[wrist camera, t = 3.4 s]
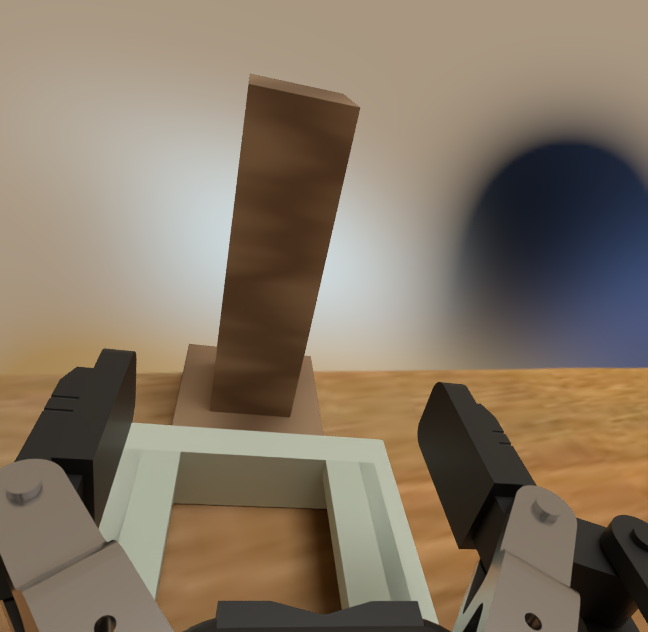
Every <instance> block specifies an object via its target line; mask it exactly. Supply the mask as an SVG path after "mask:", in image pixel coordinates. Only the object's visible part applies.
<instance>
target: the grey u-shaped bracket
mask: <svg viewBox="0 0 648 632" xmlns="http://www.w3.org/2000/svg"><path fill="white" fill-rule="evenodd" d="M173 503H180V504H207V505H233V506H260V507H287V508H314V509H327V512H328V518H329V525H330V532H331V539H332V546H333V553H334V559H335V566H336V573H337V580H338V587H339V593H340V600H341V607H342V610H343V609H346V608H350V607H353V606H356V605H360V604H363V603H367V602H370V601H418V604H419V608H420V611H421V615H422V618H423V619H426V620H429V621H431V622H434V623H436V624H438V625H439V623H438V620H437V617H436V613H435V610H434V607H433V603H432V600H431V597H430V594H429V590H428V587H427V584H426V580H425V577H424V574H423V571H422V567H421V564H420V561H419V557H418V554H417V551H416V548H415V544H414V541H413V538H412V534H411V531H410V528H409V525H408V521H407V518H406V515H405V512H404V508H403V505H402V502H401V498H400V495H399V492H398V489H397V485H396V482H395V479H394V475H393V472H392V469H391V466H390V462H389V459H388V456H387V452H386V449H385V446H384V443H383V440H377V439H362V438H348V437H333V436H319V435H304V434H289V433H275V432H260V431H246V430H231V429H217V428H202V427H187V426H173V425H158V424H144V423H132V424H131V427H130V430H129V433H128V437H127V440H126V443H125V446H124V449H123V453H122V456H121V459H120V462H119V465H118V469H117V472H116V475H115V478H114V481H113V484H112V488H111V491H110V494H109V497H108V500H107V504H106V507H105V510H104V513H103V516H102V520H101V523H100V526H99V531H100V532H101V534H102V536H103V537H104V539H105V540H106V541H107V542H109V541H111V540H116V541H117V542H118V543H119V544H120V545H121V546H122V548H123V549H124V551H125V552H126V554H127V556H128V557H129V559H130V560H131V562H132V564H133V565H134V567H135V569H136V570H137V572H138V574H139V575H140V577H141V578H142V580H143V582H144V583H145V585H146V587H147V588H148V590H149V591H150V593H151V595H152V596H153V598H154V600H155V601H156V599H157V593H158V587H159V581H160V576H161V570H162V564H163V558H164V553H165V547H166V541H167V535H168V529H169V524H170V518H171V512H172V506H173Z"/></svg>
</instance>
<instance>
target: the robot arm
mask: <svg viewBox="0 0 648 632" xmlns="http://www.w3.org/2000/svg"><path fill="white" fill-rule="evenodd" d="M135 395H136V352H135V351H125V350H114V349H103V350H102V352H101V354H100V356H99V358H98V360H97V362H96V364H95V367H94V368H85V367H76V368H75V369H73V370H72V371H71V372H69V373H68V374H67V375H65V376H64V377H63V378H61V379H60V381H59V382H58V384H57V386H56V388H55V390H54V391H53V393H52V396H51V398H50V399H49V400H48V402H47V404H46V406H45V408H44V411H42V413H41V415H40V417H39V419H38V420H37V422H36V424H35V426H34V428H33V429H32V431H31V433H30V435H29V437H28V438H27V440H26V442H25V444H24V446H23V447H22V449H21V451H20V453H19V455H18V456H17V458H16V460H15V461H14V463H11V464H9V465H6V466H4V467H2V468H1V469H0V603H1V605H2V608H3V611H4V613H5V616H6V618H7V621H8V623H9V626H10V628H11V631H12V632H174V631H173V629H172V627H171V626H170V624H169V623H168V621H167V619H166V618H165V616H164V614H163V613H162V611H161V609H160V608H159V606H158V605H157V603H156V601H155V600H154V598H153V596H152V595H151V593H150V591H149V590H148V588H147V587H146V585H145V583H144V582H143V580H142V578H141V577H140V575H139V574H138V572H137V570H136V569H135V567H134V565H133V564H132V562H131V560H130V559H129V557H128V556H127V554H126V552H125V551H124V549H123V548H122V546H121V545H120V544H119V543H118V542H117V541H116V540H111V541H109V542H107V541H106V540H105V539H104V537H103V536H102V534H101V532H100V531H99V526H100V523H101V520H102V516H103V513H104V510H105V507H106V504H107V500H108V497H109V494H110V491H111V488H112V484H113V481H114V478H115V475H116V472H117V469H118V465H119V462H120V459H121V456H122V453H123V449H124V446H125V443H126V440H127V437H128V433H129V430H130V427H131V424H132V420H133V415H134V408H135ZM418 443H419V446H420V449H421V452H422V454H423V457H424V459H425V462H426V465H427V467H428V470H429V473H430V475H431V478H432V480H433V483H434V486H435V488H436V491H437V493H438V496H439V499H440V501H441V504H442V506H443V509H444V512H445V514H446V517H447V519H448V522H449V525H450V527H451V530H452V532H453V535H454V538H455V540H456V543H457V545H458V548H459V549H477V551H478V553H479V556H480V557H479V559H478V560H477V562H476V564H475V567H474V570H473V573H472V576H471V579H470V582H469V585H468V588H467V590H466V593H465V596H464V599H463V602H462V605H461V608H460V611H459V614H458V617H457V620H456V623H455V626H454V628H453V631H452V632H639V630H638V628H637V626H636V625H635V623H634V621H633V620H632V618H631V616H632V615H633V614H634V613H635V612H636V611H637V610H638V608H639V610H640V612H641V613H642V615H643V617H644V618H645V620H646V622H647V623H648V523H646V522H644V521H642V520H640V519H638V518H636V517H632V516H628V515H619V516H616V517H615V518H614V519H613V520H612V521H611V523H610V524H609V525H608V527H607V528H606V527H603V526H600V525H597V524H594V523H591V522H588V521H585V520H582V519H579V518H576V517H575V514H574V513H573V511H572V509H571V508H570V507H569V506H568V504H567V503H566V502H565V501H564V500H562V499H561V498H560V497H559V496H557V495H556V494H554V493H553V492H551V491H549V490H547V489H545V488H542V487H539V486H537V485H536V484H535V482H534V480H533V479H532V477H531V476H530V474H529V472H528V471H527V469H526V467H525V466H524V464H523V462H522V461H521V459H520V457H519V456H518V454H517V452H516V451H515V449H514V447H513V446H511V442H510V441H509V439H508V438H507V436H506V434H504V431H503V429H502V428H501V426H500V424H499V423H498V421H497V419H496V418H495V417H494V416H493V415H492V414H491V413H490V412H489V411H488V410H487V409H486V408H485V407H484V406H483V405H481V404H476V402H475V400H474V398H473V397H472V395H471V393H470V391H469V390H468V388H467V387H466V386H465V385H463V384H453V383H443V382H438V383H436V384H435V385H434V387H433V389H432V392H431V394H430V397H429V399H428V402H427V405H426V407H425V410H424V412H423V415H422V417H421V420H420V422H419V426H418ZM183 632H451V631H449V630H447V629H446V628H444V627H442V626H440V625H438V624H436V623H434V622H431V621H429V620H426V619H423V618H422V615H421V611H420V608H419V604H418V601H370V602H367V603H363V604H360V605H356V606H353V607H350V608H346V609H343V610H340V611H336V612H333V613H330V614H317V613H313V612H310V611H306V610H302V609H298V608H295V607H291V606H287V605H284V604H280V603H276V602H272V601H218V605H217V611H216V617H215V618H214V619H211V620H207V621H204V622H202V623H199V624H197V625H195V626H192V627H190V628H189V629H187V630H185V631H183Z"/></svg>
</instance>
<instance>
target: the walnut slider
mask: <svg viewBox="0 0 648 632" xmlns="http://www.w3.org/2000/svg"><path fill="white" fill-rule="evenodd" d="M359 110H360V107H359V106H358V105H356V104H355V103H354V102H352V101H351V100H350V99H349V98H348V97H347V96H345V95H344V94H341V93H337V92H332V91H327V90H323V89H318V88H314V87H309V86H304V85H299V84H295V83H291V82H286V81H281V80H277V79H272V78H268V77H263V76H259V75H254V74H250V77H249V86H248V93H247V102H246V110H245V118H244V127H243V136H242V144H241V152H240V160H239V169H238V177H237V185H236V194H235V202H234V211H233V219H232V227H231V235H230V244H229V252H228V261H227V269H226V277H225V285H224V294H223V302H222V310H221V319H220V327H219V335H218V344H217V347H214V346H203V345H193V344H189V347H188V352H187V356H186V361H185V366H184V371H183V375H182V380H181V385H180V390H179V395H178V399H177V404H176V409H175V414H174V418H173V423H172V425H173V426H187V427H202V428H217V429H231V430H246V431H260V432H275V433H289V434H304V435H319V436H324V435H323V429H322V423H321V417H320V411H319V404H318V398H317V392H316V386H315V380H314V374H313V368H312V362H311V357H310V356H304V354H305V350H306V345H307V341H308V336H309V332H310V327H311V323H312V319H313V314H314V310H315V305H316V301H317V296H318V292H319V287H320V283H321V279H322V274H323V270H324V265H325V261H326V257H327V252H328V248H329V243H330V239H331V234H332V230H333V225H334V221H335V217H336V212H337V208H338V204H339V199H340V194H341V190H342V186H343V181H344V177H345V173H346V168H347V164H348V159H349V154H350V150H351V146H352V142H353V137H354V133H355V128H356V124H357V119H358V115H359Z"/></svg>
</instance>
